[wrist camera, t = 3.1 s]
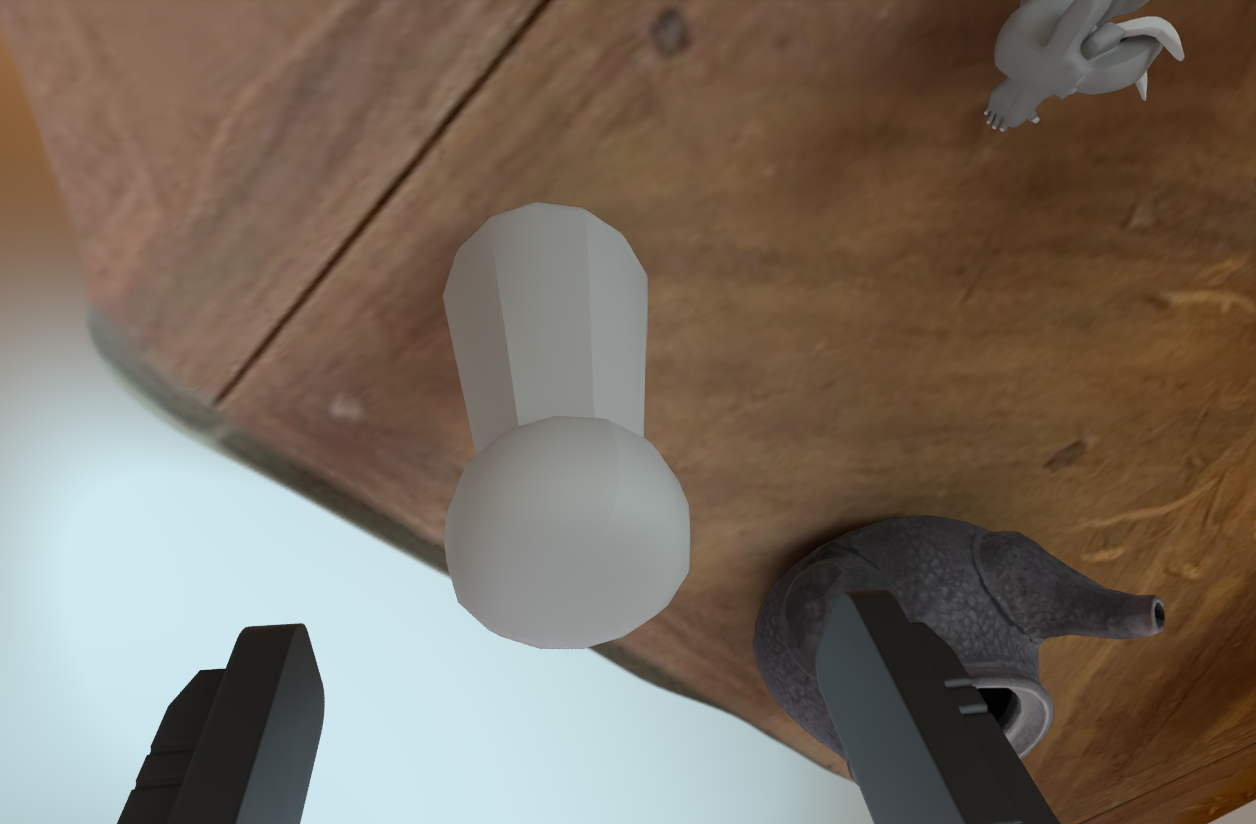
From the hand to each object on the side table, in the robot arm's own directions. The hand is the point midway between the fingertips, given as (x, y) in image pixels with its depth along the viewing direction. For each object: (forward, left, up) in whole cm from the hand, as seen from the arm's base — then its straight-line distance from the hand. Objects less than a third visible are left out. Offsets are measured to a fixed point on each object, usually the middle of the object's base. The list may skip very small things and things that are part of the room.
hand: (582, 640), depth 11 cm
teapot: (+14, -13, -14) cm, 24 cm away
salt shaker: (0, 0, -14) cm, 14 cm away
